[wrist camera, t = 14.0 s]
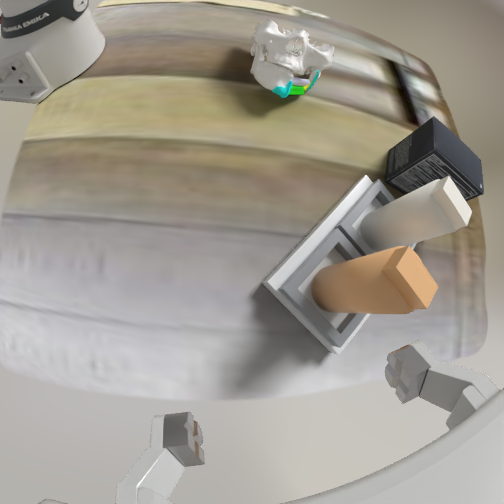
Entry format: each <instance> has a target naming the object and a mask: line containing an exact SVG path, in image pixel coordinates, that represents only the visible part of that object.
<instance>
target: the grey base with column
mask: <svg viewBox="0 0 504 504" xmlns="http://www.w3.org/2000/svg"><path fill="white" fill-rule="evenodd" d="M471 213H472V211H471V209H470V207H469V206H468V204H467V202H466V201H465V199H464V198H463V196H462V194H461V193H460V191H459V190H458V188H457V187H456V185H455V184H454V182H453V181H452V179H451V178H450V176H447V177H445V178H443V179H441V180H440V179H437V180H434V181H432V182H430V183H428V184H426V185H424V186H422V187H420V188H418V189H416V190H414V191H412V192H410V193H408V194H406V195H404V196H402V197H400V198H398V199H396V200H395V198H394V197H393V196H392V195H391V193H390V192H389V191H388V190H387V188H386V187H385V186H384V185H383V184H382V182H381V181H380V180H379V179H378V180H376V181H375V182H372V181H371V180H370V179H369V178H368V176H367V175H365V176H363V177H362V178H361V179H359V180H358V181H357V182H356V183H355V184H354V185H353V186H352V187H351V188H350V190H349V191H348V192H347V193H346V194H345V195H344V196H343V197H342V198H341V199H340V201H339V202H338V203H337V204H336V205H335V206H334V207H333V208H332V209H331V210H330V211H329V212H328V214H327V215H326V216H325V217H324V218H323V219H322V220H321V221H320V222H319V223H318V224H317V225H316V227H315V228H314V229H313V230H312V231H311V232H310V233H309V234H308V235H307V236H306V237H305V238H304V239H303V240H302V241H301V243H300V244H299V245H298V246H297V247H296V248H295V249H294V250H293V251H292V252H291V253H290V254H289V255H288V256H287V257H286V258H285V259H284V260H283V262H282V263H281V264H280V265H279V266H278V267H277V268H276V269H275V270H274V271H273V272H272V273H271V274H270V275H269V276H268V277H267V278H266V279H265V280H264V281H263V282H262V284H263V285H264V286H265V287H266V288H267V289H268V290H269V291H270V292H271V293H272V294H273V295H274V296H275V297H276V298H277V299H278V300H279V301H280V302H281V303H282V304H283V305H284V306H285V307H286V308H287V309H288V310H289V311H290V312H291V313H292V314H293V315H294V316H295V317H296V318H297V319H298V320H299V321H300V322H301V323H302V324H303V325H304V326H305V327H306V328H307V329H308V330H309V331H310V332H311V333H312V334H313V335H314V336H315V337H316V338H317V339H318V340H319V341H320V342H321V343H322V344H323V345H324V346H325V347H326V348H327V349H328V350H329V351H330V352H332V353H335V354H338V355H339V354H340V353H341V352H342V350H343V349H344V348H345V347H346V346H347V344H348V343H349V342H350V340H351V339H352V338H353V337H354V335H355V334H356V333H357V331H358V330H359V329H360V328H361V326H362V325H363V324H364V322H365V321H366V320H367V318H368V317H369V316H370V314H367V313H338V312H327V311H324V310H322V309H321V308H320V307H319V306H318V305H317V304H316V302H315V301H314V299H313V296H312V282H313V279H314V277H315V275H316V274H317V272H318V271H319V270H321V269H322V268H324V267H326V266H330V265H334V264H337V263H341V262H345V261H348V260H352V259H355V258H359V257H362V256H366V255H369V254H373V253H376V252H380V251H383V250H387V249H390V248H394V247H397V246H405V247H406V246H410V247H411V249H412V250H413V249H414V247H415V246H416V244H417V242H420V241H424V240H427V239H431V238H434V237H438V236H441V235H445V234H448V233H452V232H455V231H456V230H457V229H458V228H461V227H465V226H467V224H468V221H469V219H470V216H471Z"/></svg>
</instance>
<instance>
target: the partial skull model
mask: <svg viewBox="0 0 504 504" xmlns="http://www.w3.org/2000/svg"><path fill="white" fill-rule="evenodd" d="M277 27H278V25H277V24H276V23H275V22H273V21H272V20H267V21H265V22H264V23H258V24H257V25H256V32H255V33H254V34H253V35H252V41H253V46H252V48H251V50H250V52H251V56H255V57H254V61H253V64H252V68H251V70H250V73H251V74H253V75H254V77H255V79H256V80H257V81H258V82H259V83H260V84H261V85H262V86H263V87H265V88H266V89H269V90H272V92H274V93H276V94H278V95H280V97H281V98H286V97H287V96H288V95H304V92H305V91H308V90H309V89H310V88H311V87H312V86H313V85H314V83H315V81H316V80H317V79H318V78H319V77H320V73H321V71H322V70H323V69H328V68H330V67H331V65H332V57H333V56H334V54H333V52H334V47H333V46H332V45H329V44H322V46H321V47H319V46H317V47H313V46H314V44H315V43H316V42H315V43H314V44H311V45H310V44H309V42H308V40H310V39H308V36H309V33H307V32H306V31H305V30H303V29H298V28H294V29H293V31H289V30H286V29H284V28H283V32H284V33H285V35H284V33H283V34H282V33H280V32H279V30H278V28H277ZM286 32H288V34H289V35H286V34H287V33H286ZM296 37H298V38H297V39H296V41H297V40H300V38H302V39H303V42H304V45H303V46H302V49H299V50H302V52H301V54H300V53H298V51H299V50H298V51H297V49H296V50H295V52H294V50H292V51H289V53H288V52H287V51H286V50H285V48H286V45H287V44H288V43H289V41H291V40H292V39H295V38H296ZM310 41H311V40H310ZM295 45H296V44H294V47H293V49H294V48H295ZM267 51H268V55H267V61H265V60H264V56H263V55H266V52H267ZM294 53H295V54H297V55H298V56H295V55H294ZM278 65H280V66H283V67H285V68H283V67H280V66H278ZM286 68H287V69H286ZM307 68H308V69H309V70H308V72H306V73H305V74H306V75H307V74H309V73H310V72H311V75H310V77H309V79H301V78H298V77H294V76H293V72H295V73H297V74H299V75H304V72H305V70H306V69H307ZM288 69H290V70H288ZM292 71H293V72H292ZM292 85H295V86H292Z"/></svg>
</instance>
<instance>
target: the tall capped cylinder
mask: <svg viewBox="0 0 504 504" xmlns="http://www.w3.org/2000/svg"><path fill="white" fill-rule="evenodd" d="M437 288H438V286H437V284H436V283H435V281H434V280H433V278H432V277H431V275H430V274H429V272H428V271H427V269H426V268H425V267H424V265H423V264H422V261H421V260H420V258H419V256H418V255H417V254H416V253H415V252H414V251H413V250H412V249H411V247H410V246H406V247H405V246H397V247H394V248H390V249H387V250H383V251H380V252H376V253H373V254H369V255H366V256H362V257H359V258H355V259H352V260H348V261H345V262H341V263H337V264H334V265H330V266H326V267H324V268H322V269H321V270H319V271H318V272H317V274H316V275H315V277H314V279H313V282H312V296H313V299H314V301H315V302H316V304H317V305H318V306H319V307H320V308H321V309H322V310H324V311H327V312H338V313H367V314H407V313H410V312H412V311H414V310H415V309H427V307H428V305H429V304H430V302H431V300H432V298H433V296H434V294H435V292H436V290H437Z"/></svg>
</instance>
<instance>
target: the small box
mask: <svg viewBox="0 0 504 504" xmlns="http://www.w3.org/2000/svg"><path fill="white" fill-rule="evenodd" d="M447 176H450V178H451V179H452V181H453V182H454V184H455V185H456V187H457V188H458V190H459V191H460V193H461V194H462V196H463V198H464V199H465V201H468V200H470V199H473V198H475V197H477V196H479V195H482V194H484V187H483V175H482V166H481V160H480V159H479V158H478V157H477V156H476V155H475V154H474V153H473V152H472V151H471V150H470V149H469V148H468V147H467V146H466V145H465V144H464V143H463V142H462V141H461V140H460V139H459V138H458V137H457V136H456V135H455V134H454V133H453V132H451V131H450V130H449V129H448V128H447V127H446V126H445V125H444V124H442V123H441V122H440V121H439V120H438V119H437V118H435V117H434V116H433V117H432V118H431V119H430V120H428V121H427V122H426V123H424V124H423V125H422V126H421V127H419V128H418V129H417V130H415V131H414V132H413V133H411V134H410V135H409V136H407V137H406V138H405V139H403V140H402V141H401V142H399V143H398V144H397V145H395V146H394V147H393V148H391V149H390V150H389V156H388V163H387V170H386V176H385V182H387V183H388V184H390V185H391V186H393V187H394V188H396V189H397V190H399V191H400V192H402V193H403V194H405V195H406V194H408V193H410V192H412V191H414V190H416V189H418V188H420V187H422V186H424V185H426V184H428V183H430V182H432V181H434V180H437V179H440V180H441V179H443V178H445V177H447Z"/></svg>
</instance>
